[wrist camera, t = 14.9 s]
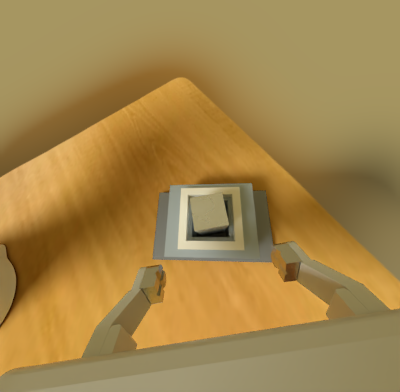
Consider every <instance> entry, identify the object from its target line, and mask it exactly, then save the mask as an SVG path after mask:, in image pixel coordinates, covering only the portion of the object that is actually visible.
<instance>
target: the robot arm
mask: <svg viewBox="0 0 400 392" xmlns="http://www.w3.org/2000/svg"><path fill="white" fill-rule="evenodd" d="M271 250H272V252H271V260H272V262H273V264H274V266H275V267H276V268H278V269H279V272H278V273H279V275H280V276H281V278H282V279H283V281H284V282H288V281H295V280H297V281H298V282H299V283H300V284H302V285H303V286H304V287H306V288H307V289H308V290H310V291H311V292H312V293H314V294H315V295H316V296H318V297H319V298H320V299H322V300H323V301H324V302H326V303H327V304H328V305H329V307H328V310H327V313H326V315H327V317H328V318H329V320H323V321H316V322H310V323H304V324H297V325H291V326H284V327H278V328H271V329H265V330H259V331H252V332H246V333H239V334H233V335H227V336H220V337H214V338H207V339H201V340H194V341H188V342H182V343H175V344H169V345H163V346H156V347H150V348H143V349H137V350H136V347H137V343H136V342H135V340H134V339H133V338H132V337H131V336H132V335H133V333H134V332H135V330H136V328H137V327H138V325H139V324H140V322H141V320H142V319H143V317H144V316H145V314H146V312H147V311H148V309H149V308H150V306H151V304H156V303H161V302H163V298H164V290H163V288H164V287H165V285H166V274H165V271H163V270H162V269H163V267H162V265H154V266H148V267H142V268H140V269H139V271H138V273H137V276H136V279H135V282H134V284H133V287H132V290H131V291H129V292H128V293H127V294H126V295H125V296H124V297H123V298H122V299H121V300H120V302H119V303H118V304H117V305H116V306H115V307H114V308H113V309H112V310H111V311H110V312H109V314H108V315H107V316H106V317H105V318H104V319H103V320H102V321H101V322H100V323H99V325H98V326H97V327H96V328H95V330H94V333H93V335H92V337H91V339H90V341H89V343H88V345H87V347H86V349H85V351H84V353H83V356H82V358H79V359H73V360H67V361H60V362H54V363H47V364H41V365H35V366H28V367H21V368H16V369H12V370H10V371H8V372H6V373H5V374H3V375H2V376H1V377H0V392H400V309H394V310H390V309H389V308H388V307H387V306H386V305H385V304H384V303H383V302H381V301H380V300H379V299H378V298H377V297H376V296H375V295H374V294H373V293H372V292H371V291H369V290H368V289H367V288H366V287H365V286H364V285H363V284H361V283H359V282H357V281H355V280H353V279H351V278H349V277H347V276H345V275H343V274H341V273H339V272H337V271H335V270H333V269H331V268H329V267H327V266H325V265H323V264H321V263H319V262H317V261H315V260H311V259H310V258H309V257H308V256H307V255H306V254H305V252H304V251H303V250H302V249H301V248H300V247H299V246H298V245H297V244H296V243H295V242H294V241H291V242H286V243H280V244H274V245H272V246H271ZM15 289H16V274H15V270H14V268H13V266H12V264H11V263H10V261H9V260H8V258H7V253H6V247H5V245H3V244H0V324H1V323H2V321H3V320H4V318H5V316H6V315H7V313H8V311H9V309H10V306H11V304H12V301H13V298H14V294H15Z"/></svg>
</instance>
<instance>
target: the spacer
mask: <svg viewBox="0 0 400 392" xmlns="http://www.w3.org/2000/svg"><path fill="white" fill-rule="evenodd" d="M220 192H222V195H223V197H231V200H232V217H233V234H234V241H188V219H189V198H191V197H198V196H203V195H209V194H214V193H220ZM178 249H191V250H244V238H243V225H242V212H241V200H240V187H213V188H181V198H180V215H179V232H178Z"/></svg>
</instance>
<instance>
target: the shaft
mask: <svg viewBox="0 0 400 392" xmlns="http://www.w3.org/2000/svg"><path fill="white" fill-rule="evenodd" d="M190 204H191V211H192V218H193V225H194V231H195V232H197V233H199V234H200V235H202V236H205V235H211V234H217V233H223V232H224V231H225V229H226V228H227V227H228V226H229V222H228V217H227V213H226V208H225V204H224V199H223V195H222V192H220V193H214V194H209V195H203V196H198V197H192V198H190Z"/></svg>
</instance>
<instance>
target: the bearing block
mask: <svg viewBox="0 0 400 392" xmlns="http://www.w3.org/2000/svg"><path fill="white" fill-rule="evenodd" d="M213 187H240V200H241V212H242V225H243V238H244V250H191V249H178V232H179V215H180V198H181V188H213ZM191 198H192V197H191ZM223 199H224V204H225V208H226V213H227V217H228V222H229V226H228V227H227V228H226V229H225V231H224V232H223V233H217V234H211V235H205V236H202V235H200V234H199V233H197V232H195V231H194V225H193V218H192V211H191V204H190V198H189V219H188V241H234V234H233V217H232V200H231V197H223ZM272 245H273V240H272V233H271V226H270V218H269V211H268V204H267V197H266V191H253V190H252V183H239V184H200V185H170V193H160V195H159V204H158V214H157V223H156V232H155V242H154V251H153V259H160V260H199V261H238V262H272V260H271V252H272V250H271V246H272Z"/></svg>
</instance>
